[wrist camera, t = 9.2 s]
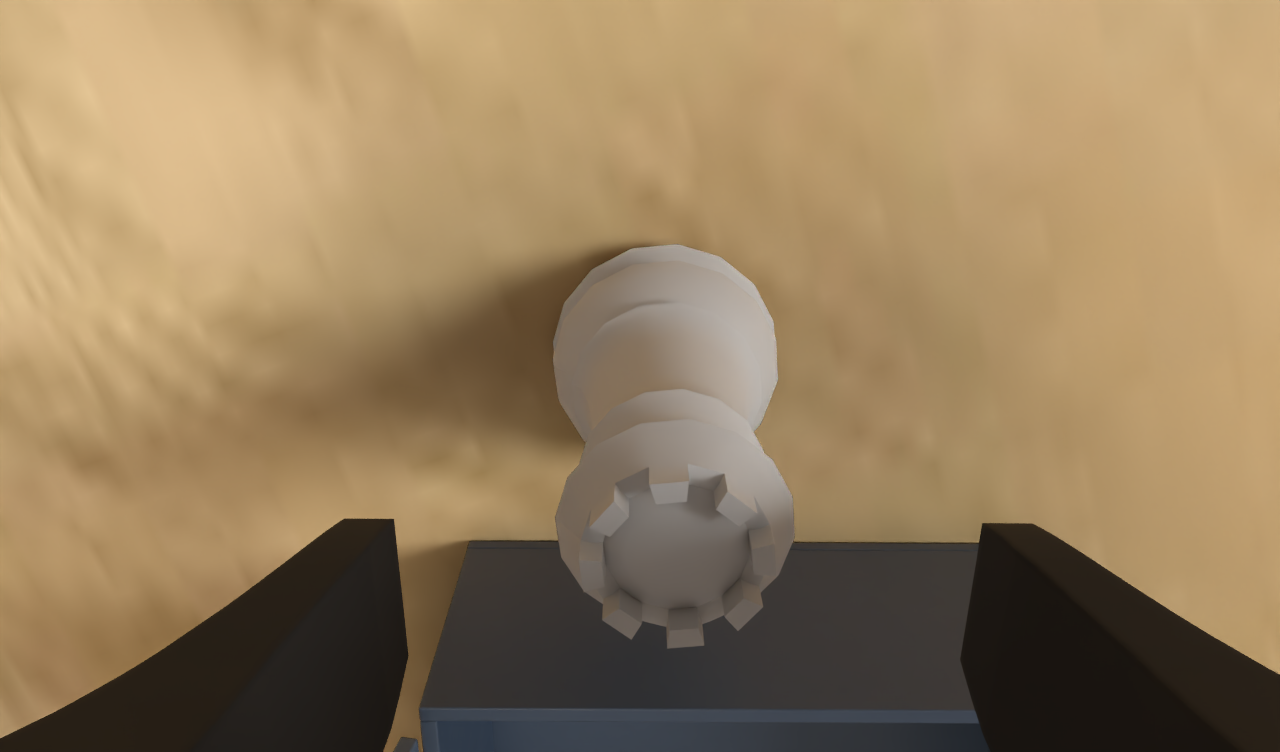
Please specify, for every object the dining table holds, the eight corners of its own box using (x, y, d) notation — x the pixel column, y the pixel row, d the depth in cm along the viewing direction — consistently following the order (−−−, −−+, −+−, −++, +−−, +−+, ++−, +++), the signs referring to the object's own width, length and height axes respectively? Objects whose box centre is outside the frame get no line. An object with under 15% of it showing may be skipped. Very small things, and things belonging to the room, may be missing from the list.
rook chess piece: (548, 432, 20) (495, 694, 13) (562, 226, 19) (509, 392, 11) (756, 451, 20) (821, 718, 13) (790, 248, 19) (885, 425, 11)
